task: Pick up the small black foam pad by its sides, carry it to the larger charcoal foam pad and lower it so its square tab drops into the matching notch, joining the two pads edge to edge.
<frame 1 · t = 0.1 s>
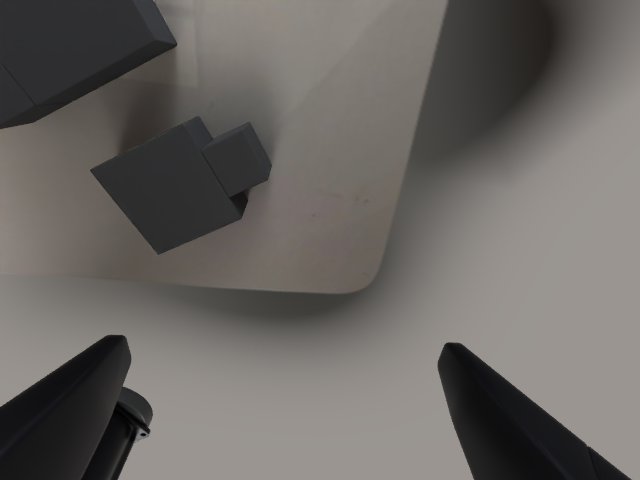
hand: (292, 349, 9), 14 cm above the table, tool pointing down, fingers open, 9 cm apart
loose pad: (185, 179, 21), on the table
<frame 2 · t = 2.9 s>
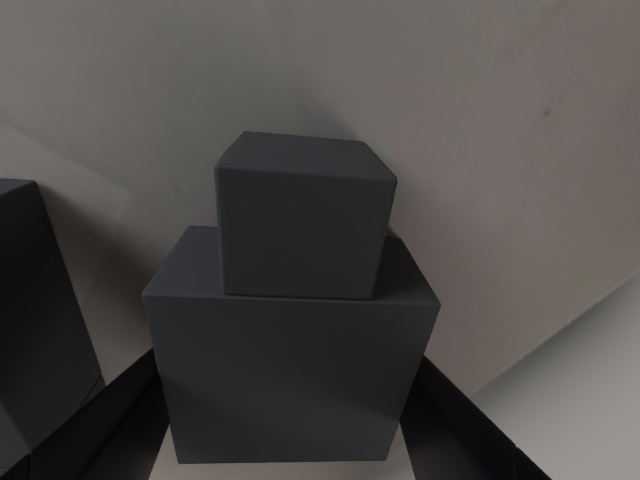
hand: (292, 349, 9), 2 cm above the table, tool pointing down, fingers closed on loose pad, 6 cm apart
loose pad: (292, 312, 10), on the table, touching gripper
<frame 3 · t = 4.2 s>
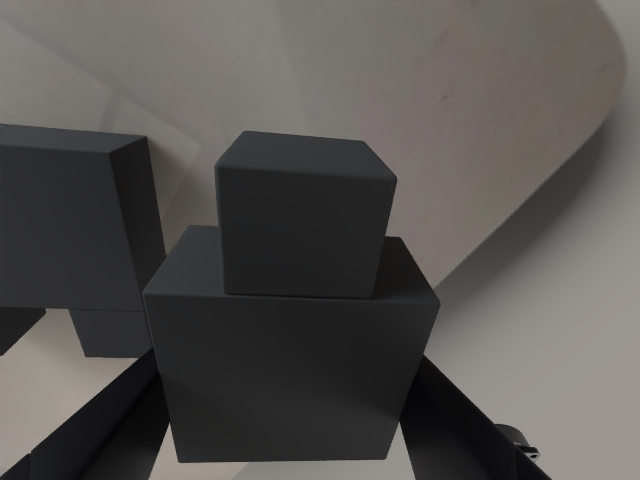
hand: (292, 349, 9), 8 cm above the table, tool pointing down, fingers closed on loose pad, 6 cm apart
base pad: (55, 234, 15), on the table
loose pad: (292, 312, 10), point 6 cm above the table, touching gripper
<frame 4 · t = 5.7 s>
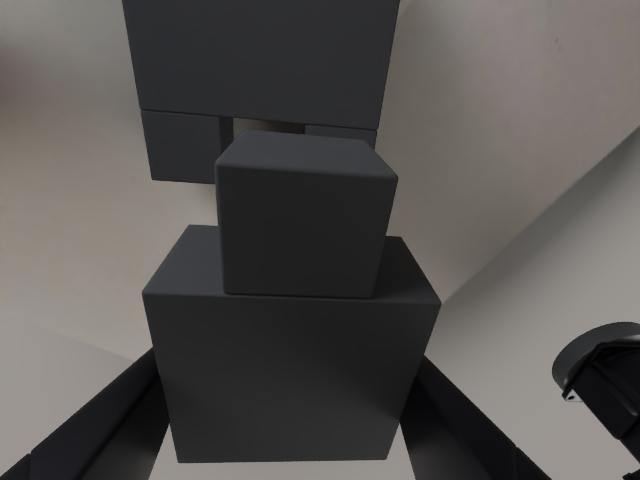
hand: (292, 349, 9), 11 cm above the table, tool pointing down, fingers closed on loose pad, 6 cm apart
base pad: (269, 67, 15), on the table
loose pad: (292, 311, 10), point 9 cm above the table, touching gripper
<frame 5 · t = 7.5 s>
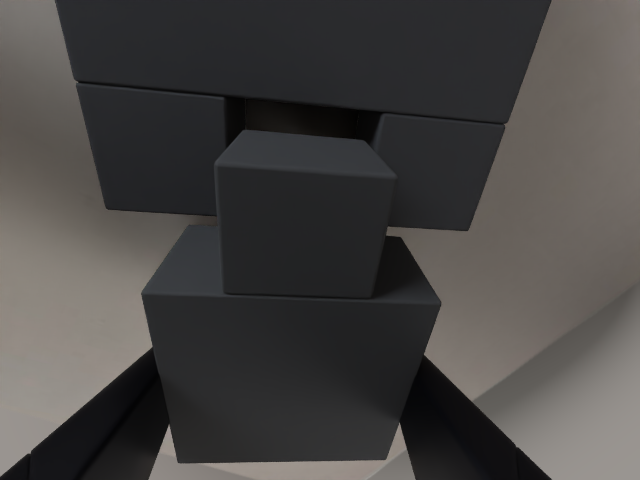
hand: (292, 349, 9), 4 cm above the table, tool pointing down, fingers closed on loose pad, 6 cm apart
base pad: (308, 18, 9), on the table
loose pad: (292, 311, 10), point 3 cm above the table, touching gripper
when the fingers open (2 cm above the table, at t = 8.9 s): loose pad stays where it is, on the table.
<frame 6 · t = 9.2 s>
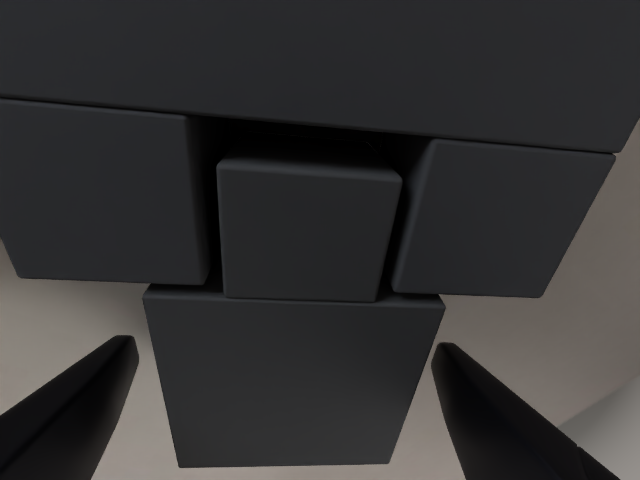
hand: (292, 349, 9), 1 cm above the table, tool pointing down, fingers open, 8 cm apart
loose pad: (294, 314, 10), on the table
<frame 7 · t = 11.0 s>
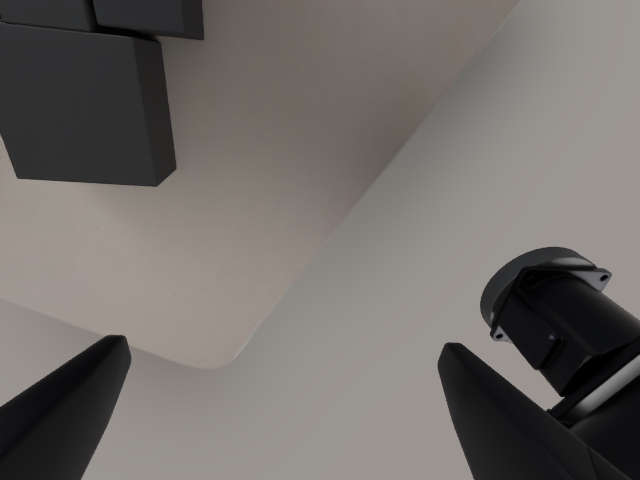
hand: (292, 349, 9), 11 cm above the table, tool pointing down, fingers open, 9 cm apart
loose pad: (106, 106, 16), on the table
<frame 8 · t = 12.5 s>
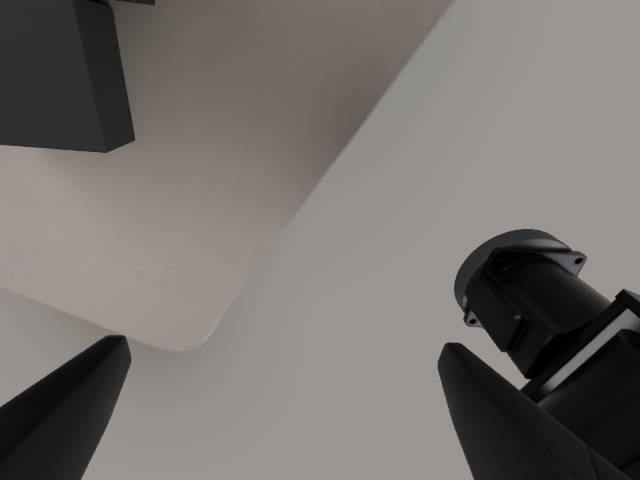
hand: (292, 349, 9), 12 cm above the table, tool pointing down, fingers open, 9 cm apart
loose pad: (61, 73, 16), on the table
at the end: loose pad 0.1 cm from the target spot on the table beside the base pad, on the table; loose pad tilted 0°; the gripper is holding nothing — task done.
